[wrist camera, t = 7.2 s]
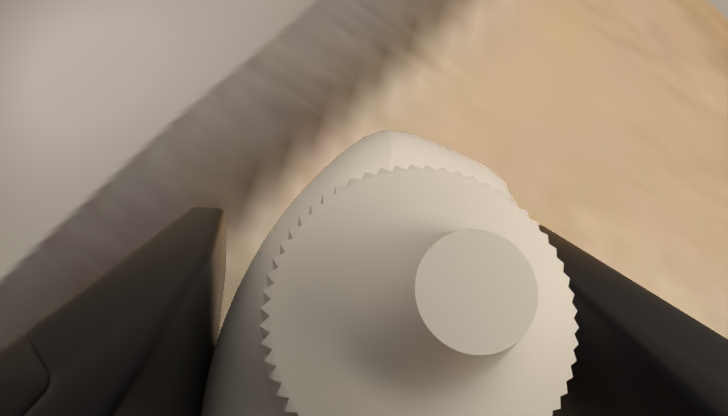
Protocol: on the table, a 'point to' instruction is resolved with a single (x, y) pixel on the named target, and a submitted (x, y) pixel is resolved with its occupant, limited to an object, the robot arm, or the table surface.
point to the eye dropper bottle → (398, 297)
